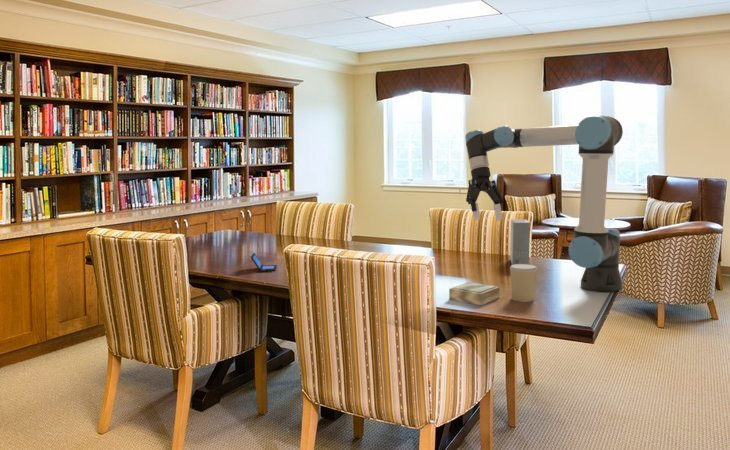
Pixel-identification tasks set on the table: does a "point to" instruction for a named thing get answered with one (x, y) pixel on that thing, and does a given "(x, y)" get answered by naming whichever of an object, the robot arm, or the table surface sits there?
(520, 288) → the coffee cup
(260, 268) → the handheld game console
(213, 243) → the table surface
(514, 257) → the hard drive box
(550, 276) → the table surface
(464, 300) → the birch riser
